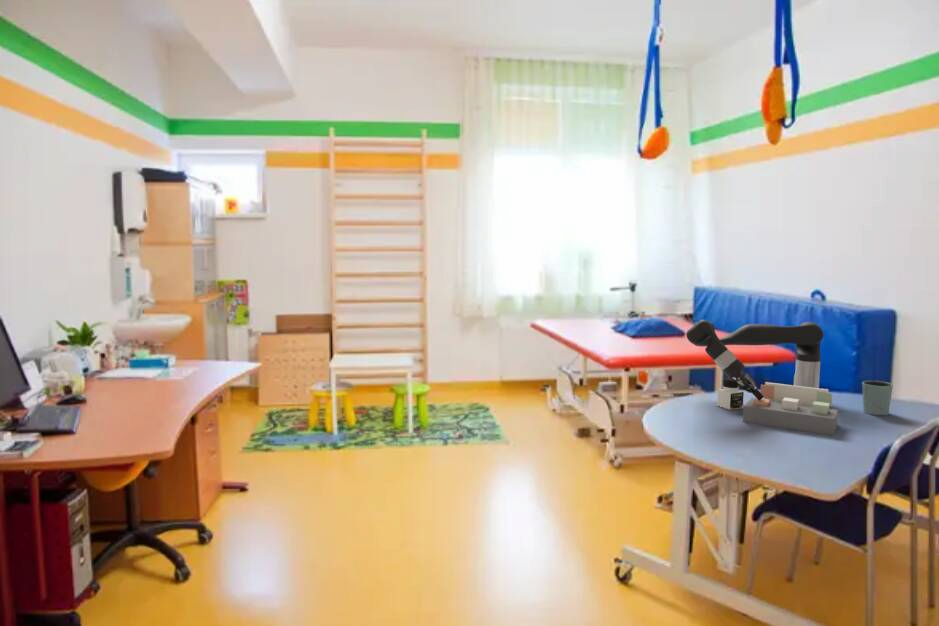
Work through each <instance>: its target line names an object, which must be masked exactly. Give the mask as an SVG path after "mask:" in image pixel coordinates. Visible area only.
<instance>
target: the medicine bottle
mask: <svg viewBox="0 0 939 626" xmlns="http://www.w3.org/2000/svg"><path fill="white" fill-rule="evenodd" d="M722 382H723V383H722V388H719V389H717V402H716V403H717V404H716V405H717V407H719V406H720V407H719V408H722V407H723V408H722V409H726V410H729V411H732V410H738V409H739V410H741V409H744V395H745V394H744V391H743V390H740V386H739V385H738V384H739V383H738V382H737V380H736V378H735V377H733V378H731V379H730V378H729V377H725V378H723V380H722Z"/></svg>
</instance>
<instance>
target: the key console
mask: <svg viewBox="0 0 939 626" xmlns="http://www.w3.org/2000/svg"><path fill="white" fill-rule="evenodd" d="M759 389H760V390H759V391H760V392H761V393H762V395H763V396H764V397H763V398H762V399H769V400H770V405H769V406H768V407H767V406H760V405H753V401H754V400H755V398H753V397H751V398H750V399H749V400H748V401H747V402H746V403H745V404H743V414H742V415H743V417H742V422H745V423H751V424H758V425H763V426H769V427H771V426H772V427H776V428H783V429H790V430H797V431H802V432H809V433H816V434H824V435H829V436H833V435H834V434H835V431H836V428H837V427H838V416H839V410H838V409H835V408H829V415H825V414H818V413H812V404H813V402H814V401H816V402H824V403H830V405H829V407H833V405H832V404H833V392H832V393H831V392H829V389H828V388H811V387H802V386H794V385H792V384H786V383H785V384H784V383H776V382H767V381H765V382H764V384H760V388H759ZM784 398H793V399H799V409H798V411H796V410H789V409H782V400H783V399H784Z"/></svg>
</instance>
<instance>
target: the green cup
mask: <svg viewBox="0 0 939 626" xmlns="http://www.w3.org/2000/svg"><path fill="white" fill-rule="evenodd" d="M861 384H862V385H861V386H862V408H863V413H865V414H867V413H868V415H871V414H873V415H872V416H878V415H886V416H888V415H889V413H890V406H891V399H892V393H893V392H892V391H893V383H891V382H889V381H888V382H887V381H882V380H863V381H862V383H861Z"/></svg>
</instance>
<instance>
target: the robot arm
mask: <svg viewBox="0 0 939 626" xmlns="http://www.w3.org/2000/svg"><path fill="white" fill-rule="evenodd" d="M824 334H825V333H824V331H823V329H822V327H820V325H818V324H817V323H815V322H814V321H805V322H802V323H800V325H795V326H794V325H792V326H784V325H783V326H782V325H775V324H769V323H767V324H766V323H749V324H744V325H743V326H741V327H739V328H738V329H736V330H734V331H733V332H731V333H730V334H726V335H725V336H723V337H720V338H719V336H718V335H717V334H716V327H715V324H714V323H713V322H711V321H708V320H706V319H700V320H699V321H697V322H695V323H694V324H693V326H692V327H690V328H689V329H688V330H687V331H686V333H685V335H686V339H687V340H688V342H690V344H692V345H694V346H696V347H705V349H704V351H705V353H706V354H707V356H709V357H710V358H711V359H712V360H713V361H714V363H715V364H716V365H717V367H718V368H719V369H720V370H721V371H722V373H724V374H725V375H726V376H727V378H730V379H731V378H736V380H737V382H738V383H739V384H738V385H739V388H741V389H743V390H744V391H745V392H747V393H750V394H752V396H754V397H755V398H757V399H758V400H761V399H764V398H763V397H764V396H763V395H762V393H761V392H760V390H759V389H758V384H756V382H755V380H754V379H753V377H752V376H751V375H749V373H746V372H744V371H743V370H744V369H745V368H746V365H745V364H744V363H743V362H742V361H741V360H740V359H739V358H738V357H737V356H736V355H735V354H734V353H733V352H732V351H730V349H729V348H728V347H727V346H771V345H774V346H775V345H783V344H784V345H785V344H786V345H788V344H790V345H791V344H792V345H795V353H796V354H795V368H794V369H795V370H794V371H795V373H794V376H793V383H792V384H793V385H794V386H802V387H811V388H819V387H820V375H821V373H820V372H821V371H820V370H821V357H822V355H821V342H822V341H823V338H824ZM819 389H820V388H819Z"/></svg>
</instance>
